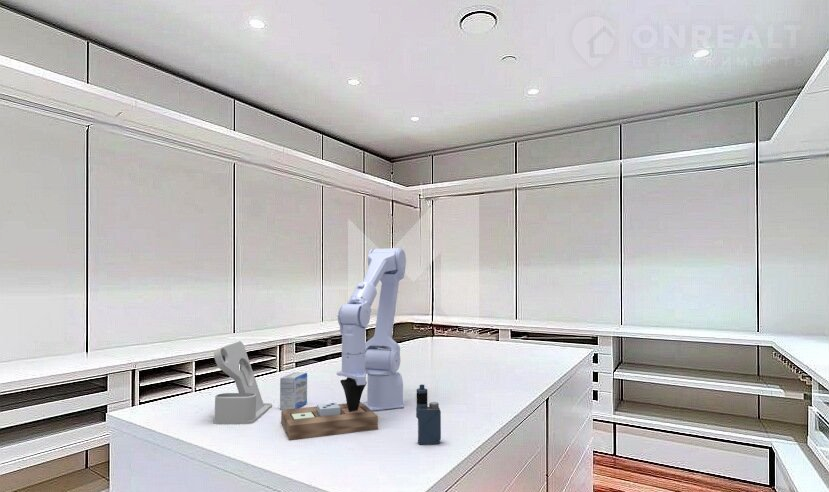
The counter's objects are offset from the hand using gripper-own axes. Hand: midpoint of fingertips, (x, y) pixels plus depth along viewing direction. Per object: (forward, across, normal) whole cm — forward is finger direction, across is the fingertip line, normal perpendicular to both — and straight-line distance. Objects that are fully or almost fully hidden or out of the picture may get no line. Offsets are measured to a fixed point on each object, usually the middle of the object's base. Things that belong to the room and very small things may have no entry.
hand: (353, 410), depth 114 cm
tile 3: (0, 0, -6) cm, 6 cm away
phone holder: (+3, -18, -24) cm, 30 cm away
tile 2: (+2, 0, 0) cm, 2 cm away
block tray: (+3, 0, -6) cm, 7 cm away
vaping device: (+3, +20, +11) cm, 23 cm away
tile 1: (+2, 0, -12) cm, 12 cm away
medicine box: (+3, -21, -11) cm, 24 cm away
